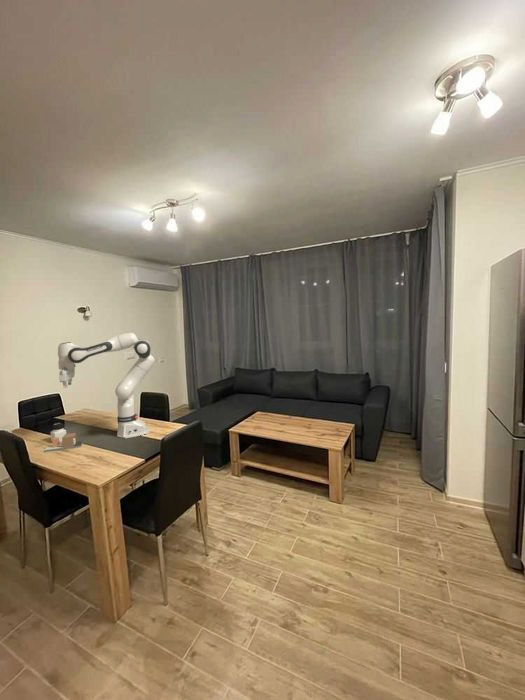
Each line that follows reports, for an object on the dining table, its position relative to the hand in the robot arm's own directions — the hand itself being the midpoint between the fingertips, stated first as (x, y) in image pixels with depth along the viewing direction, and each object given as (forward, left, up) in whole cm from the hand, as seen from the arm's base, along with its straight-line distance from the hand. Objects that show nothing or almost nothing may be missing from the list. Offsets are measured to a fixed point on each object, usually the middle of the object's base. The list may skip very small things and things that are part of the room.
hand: (67, 386), depth 196 cm
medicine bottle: (+9, -5, -39) cm, 40 cm away
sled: (+2, +9, -38) cm, 39 cm away
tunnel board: (+2, +9, -39) cm, 40 cm away
